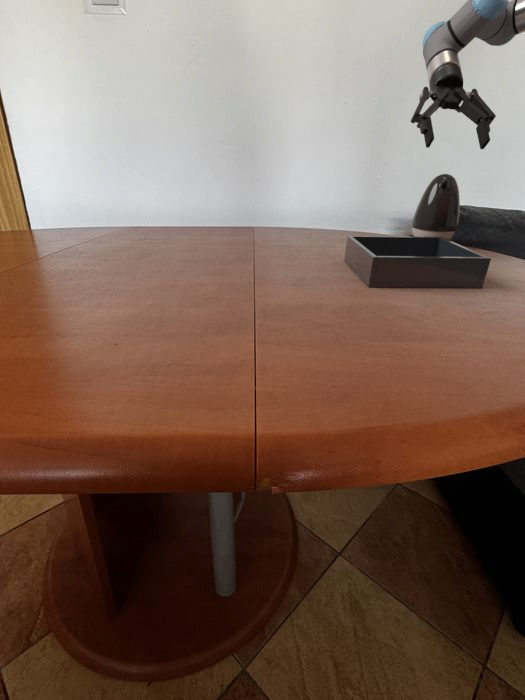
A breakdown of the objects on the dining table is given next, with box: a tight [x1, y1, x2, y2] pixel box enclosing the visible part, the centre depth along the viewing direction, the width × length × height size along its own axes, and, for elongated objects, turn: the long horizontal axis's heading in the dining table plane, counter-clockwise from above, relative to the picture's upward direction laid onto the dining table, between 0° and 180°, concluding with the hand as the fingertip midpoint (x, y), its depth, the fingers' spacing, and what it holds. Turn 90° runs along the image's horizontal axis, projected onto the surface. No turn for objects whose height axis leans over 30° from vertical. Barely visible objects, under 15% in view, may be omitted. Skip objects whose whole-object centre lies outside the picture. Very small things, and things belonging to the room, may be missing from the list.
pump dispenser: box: [410, 173, 461, 241], centre depth 88 cm, size 10×10×15 cm
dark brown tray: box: [343, 235, 492, 289], centre depth 66 cm, size 19×17×5 cm
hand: (457, 144), depth 90 cm, fingers open, 13 cm apart
